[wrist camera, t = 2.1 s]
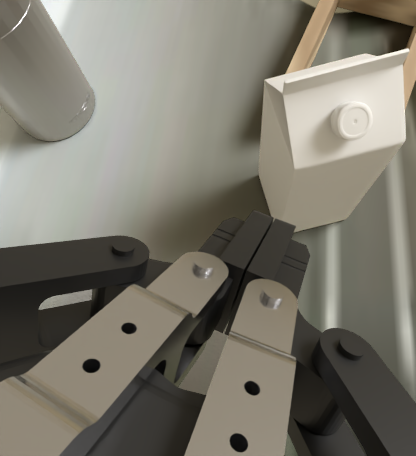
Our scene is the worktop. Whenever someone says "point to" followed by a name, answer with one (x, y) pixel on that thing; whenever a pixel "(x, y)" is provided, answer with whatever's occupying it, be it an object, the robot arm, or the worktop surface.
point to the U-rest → (367, 4)
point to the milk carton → (329, 136)
